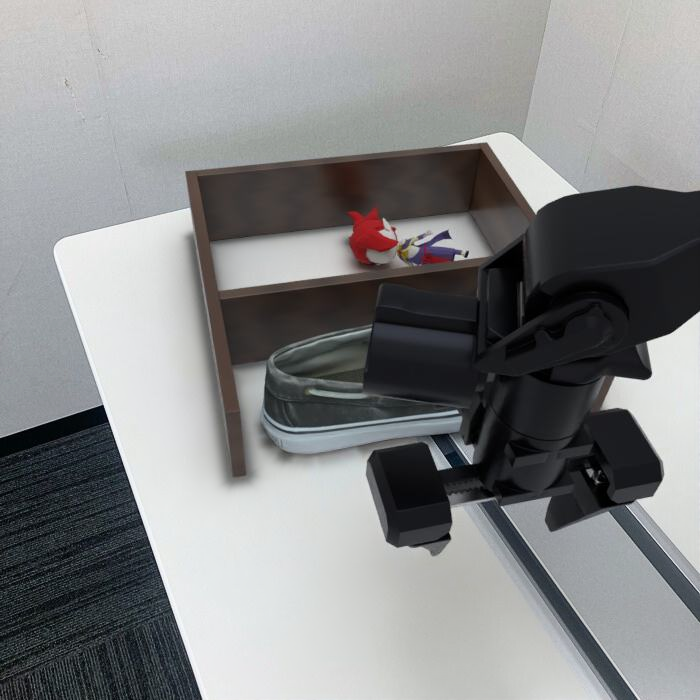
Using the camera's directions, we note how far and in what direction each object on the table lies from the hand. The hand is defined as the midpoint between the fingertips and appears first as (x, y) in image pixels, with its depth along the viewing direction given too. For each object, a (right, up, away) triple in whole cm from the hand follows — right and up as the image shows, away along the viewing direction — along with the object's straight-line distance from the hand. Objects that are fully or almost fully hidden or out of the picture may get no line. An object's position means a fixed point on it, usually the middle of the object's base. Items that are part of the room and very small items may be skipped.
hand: (491, 537), depth 55 cm
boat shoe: (-5, +8, +17) cm, 20 cm away
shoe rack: (-8, +17, +26) cm, 32 cm away
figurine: (-5, +23, +32) cm, 40 cm away
